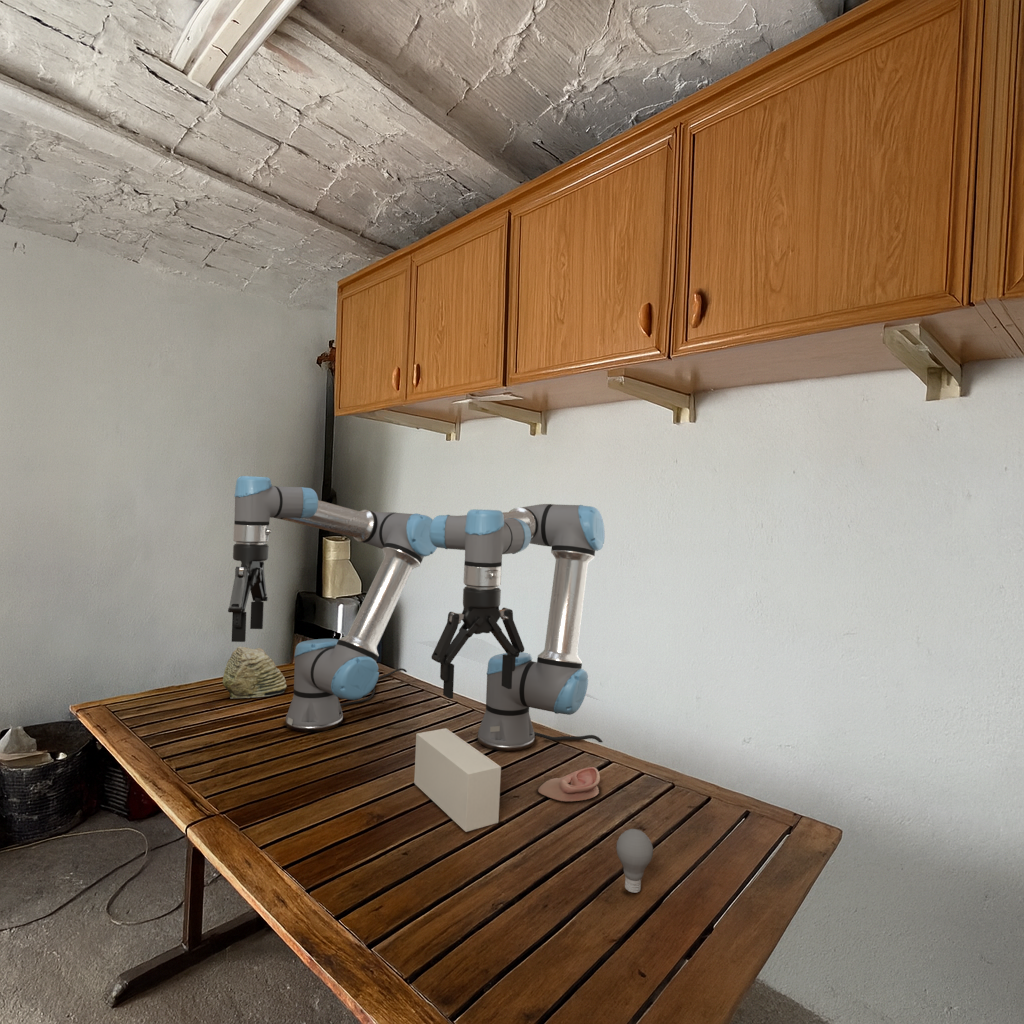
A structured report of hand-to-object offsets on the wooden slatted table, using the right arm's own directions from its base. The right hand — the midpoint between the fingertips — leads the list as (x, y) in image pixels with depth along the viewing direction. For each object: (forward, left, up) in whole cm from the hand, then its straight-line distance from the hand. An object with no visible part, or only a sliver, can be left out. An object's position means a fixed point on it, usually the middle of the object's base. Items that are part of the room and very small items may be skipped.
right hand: (478, 691), depth 127 cm
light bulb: (-15, +33, -26) cm, 44 cm away
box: (+1, -8, -26) cm, 27 cm away
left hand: (+40, -42, +5) cm, 58 cm away
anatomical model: (-25, -3, -26) cm, 36 cm away
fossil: (+32, -96, -26) cm, 104 cm away
